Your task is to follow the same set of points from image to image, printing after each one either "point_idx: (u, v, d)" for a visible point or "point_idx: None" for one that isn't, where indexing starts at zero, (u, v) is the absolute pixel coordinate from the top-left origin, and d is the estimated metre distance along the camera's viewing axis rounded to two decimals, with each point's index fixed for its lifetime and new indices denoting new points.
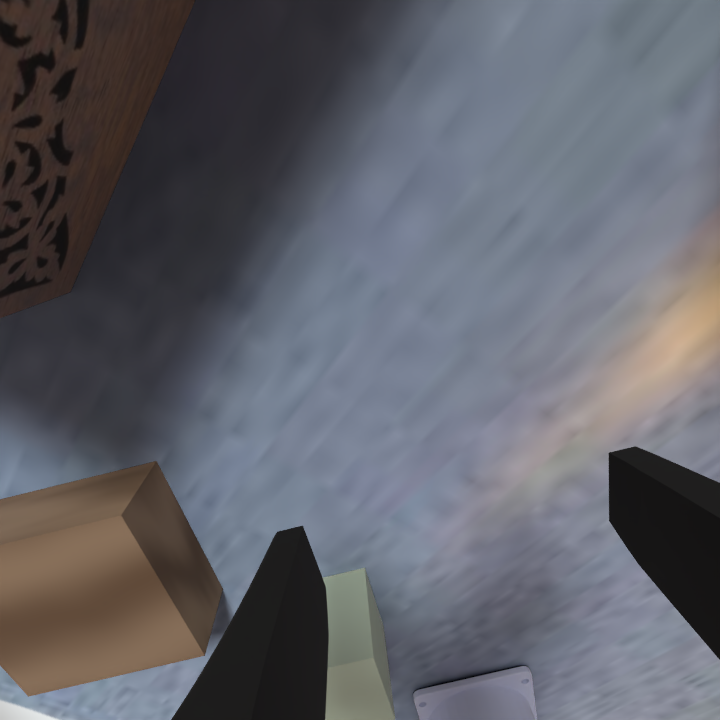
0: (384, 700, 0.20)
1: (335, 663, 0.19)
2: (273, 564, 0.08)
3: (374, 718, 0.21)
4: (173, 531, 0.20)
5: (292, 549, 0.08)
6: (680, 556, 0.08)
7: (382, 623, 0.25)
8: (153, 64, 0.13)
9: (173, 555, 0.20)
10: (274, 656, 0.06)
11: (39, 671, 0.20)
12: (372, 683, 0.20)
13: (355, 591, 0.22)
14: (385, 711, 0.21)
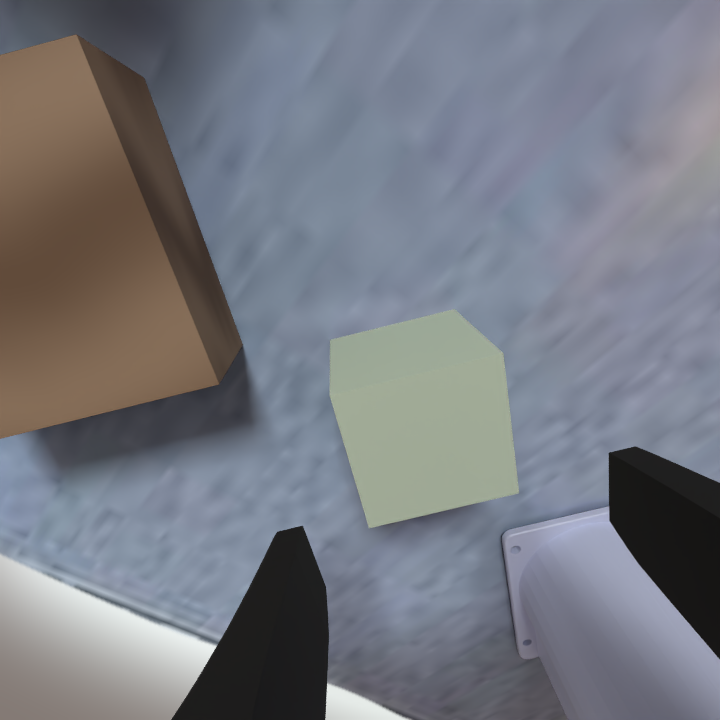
0: (508, 451, 0.13)
1: (439, 367, 0.12)
2: (273, 564, 0.08)
3: (487, 489, 0.13)
4: (171, 189, 0.13)
5: (292, 549, 0.08)
6: (680, 556, 0.08)
7: None
8: None
9: (170, 213, 0.12)
10: (274, 656, 0.06)
11: None
12: (494, 412, 0.12)
13: (447, 322, 0.15)
14: (506, 474, 0.13)
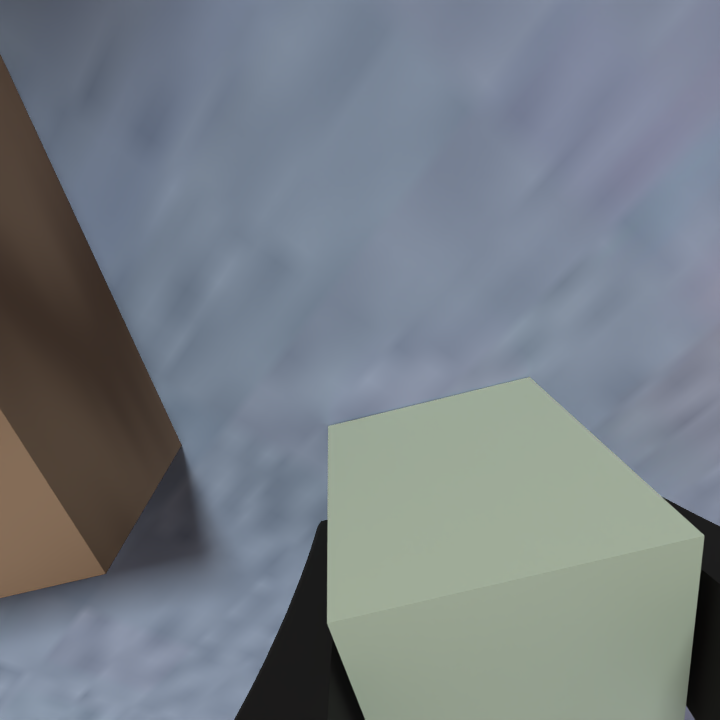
0: (677, 692, 0.07)
1: (563, 560, 0.05)
2: (323, 552, 0.08)
3: None
4: (17, 198, 0.07)
5: None
6: None
7: None
8: None
9: (3, 247, 0.06)
10: None
11: None
12: (663, 635, 0.06)
13: (530, 412, 0.09)
14: None
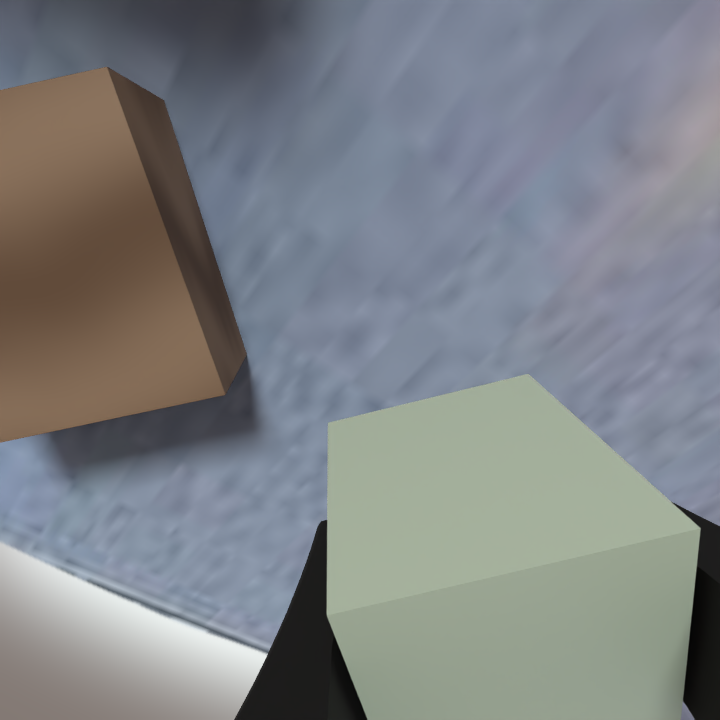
0: (673, 684, 0.07)
1: (559, 552, 0.05)
2: (324, 552, 0.08)
3: None
4: (186, 207, 0.13)
5: None
6: None
7: None
8: None
9: (185, 230, 0.13)
10: None
11: None
12: (660, 628, 0.06)
13: (529, 408, 0.09)
14: (661, 718, 0.07)
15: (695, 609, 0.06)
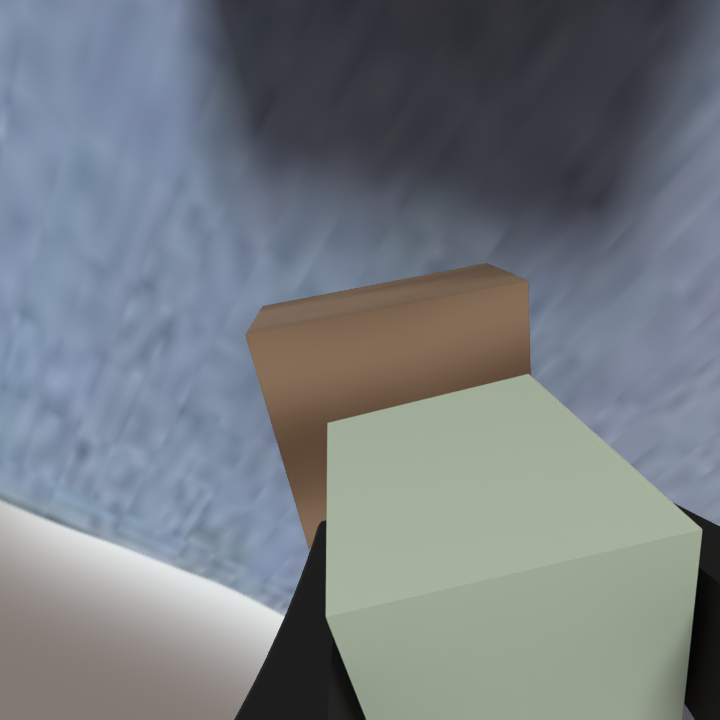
0: (674, 686, 0.07)
1: (560, 554, 0.05)
2: (324, 552, 0.08)
3: None
4: None
5: None
6: None
7: None
8: None
9: None
10: None
11: None
12: (661, 629, 0.06)
13: (529, 408, 0.09)
14: None
15: (695, 609, 0.06)
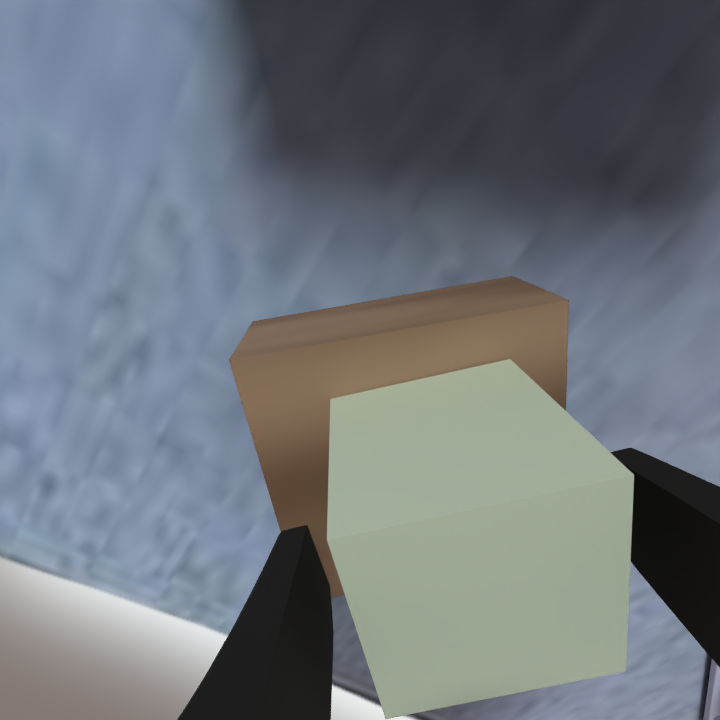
0: (618, 616, 0.08)
1: (519, 494, 0.07)
2: (278, 563, 0.08)
3: (577, 667, 0.08)
4: None
5: (297, 548, 0.08)
6: (675, 557, 0.08)
7: None
8: None
9: None
10: (281, 654, 0.06)
11: None
12: (604, 563, 0.07)
13: (507, 386, 0.10)
14: (610, 648, 0.08)
15: None
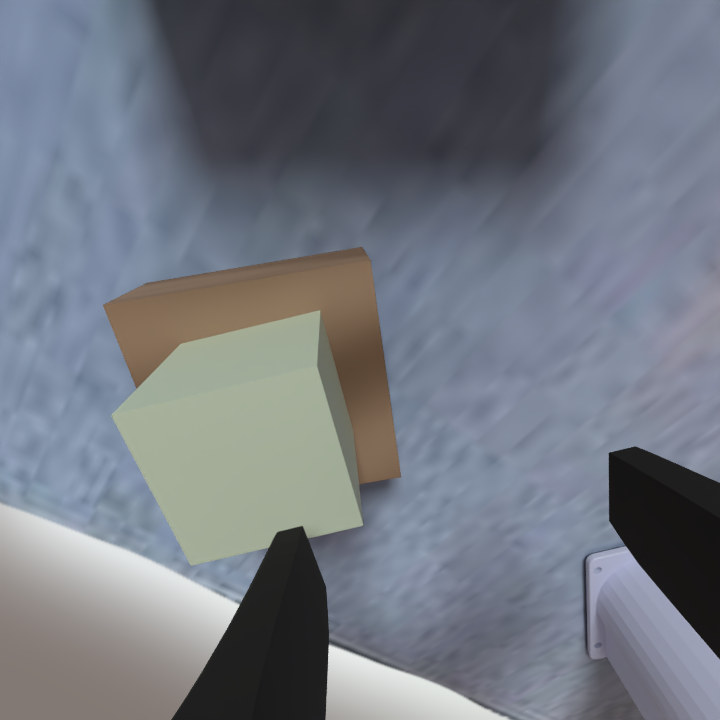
0: (342, 478, 0.11)
1: (243, 381, 0.10)
2: (273, 564, 0.08)
3: (325, 521, 0.11)
4: None
5: (292, 549, 0.08)
6: (680, 556, 0.08)
7: (351, 426, 0.16)
8: None
9: None
10: (274, 656, 0.06)
11: None
12: (318, 435, 0.10)
13: (300, 326, 0.13)
14: (344, 505, 0.11)
15: None
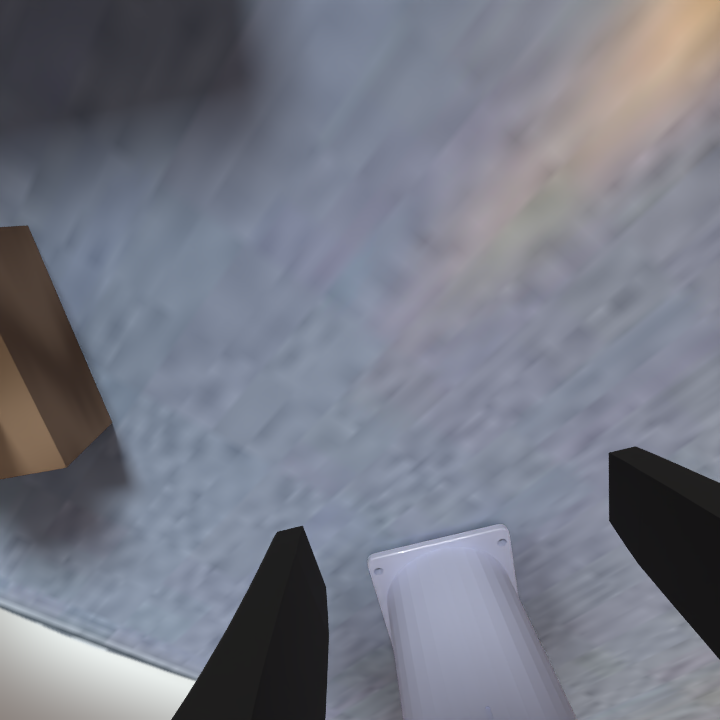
0: None
1: None
2: (273, 564, 0.08)
3: None
4: (42, 312, 0.16)
5: (292, 549, 0.08)
6: (680, 556, 0.08)
7: None
8: None
9: (35, 335, 0.16)
10: (274, 656, 0.06)
11: None
12: None
13: None
14: None
15: None
